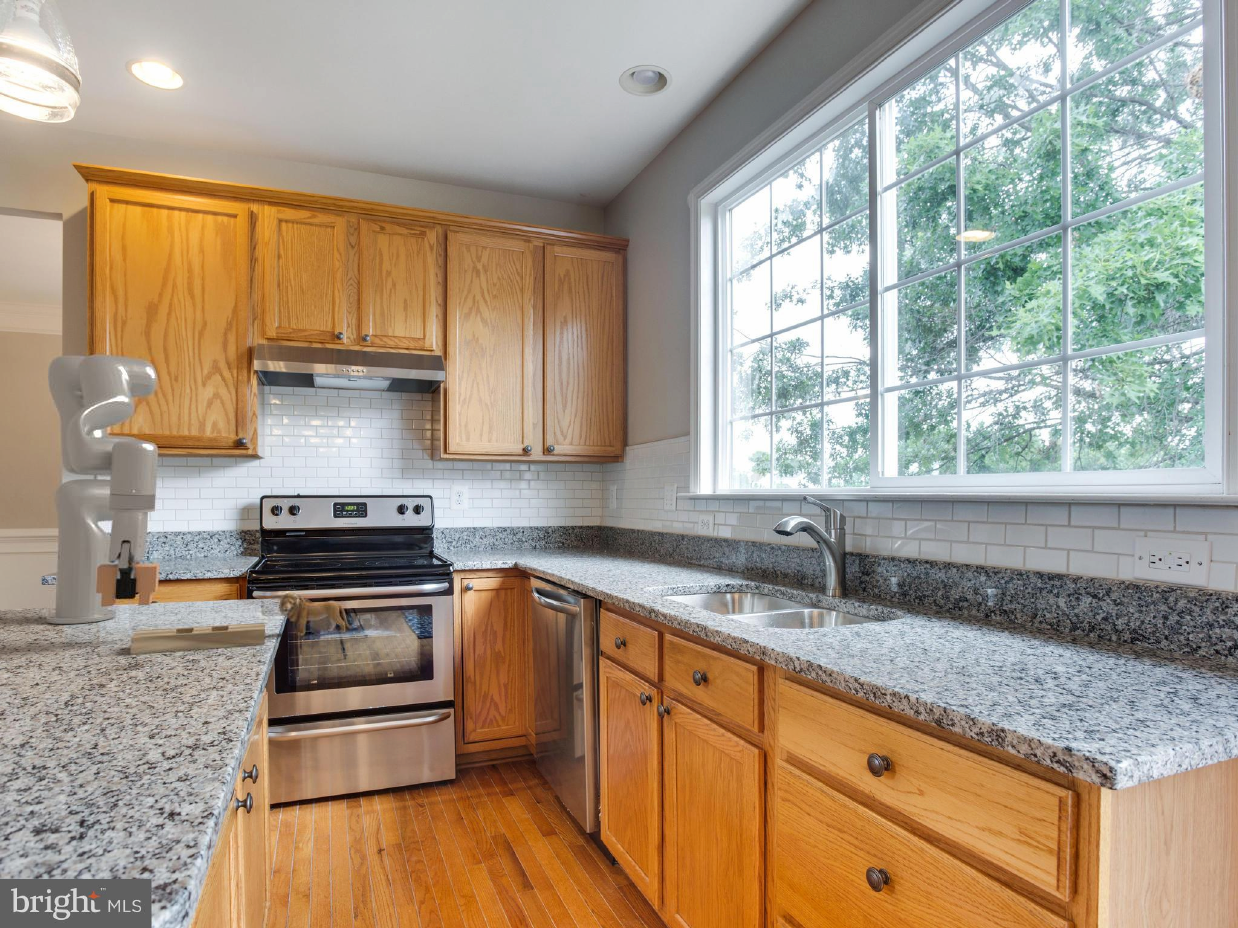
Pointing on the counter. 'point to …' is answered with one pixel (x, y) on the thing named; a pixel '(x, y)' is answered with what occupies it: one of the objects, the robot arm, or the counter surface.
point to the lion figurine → (311, 612)
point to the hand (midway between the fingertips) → (127, 595)
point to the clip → (144, 583)
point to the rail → (197, 638)
